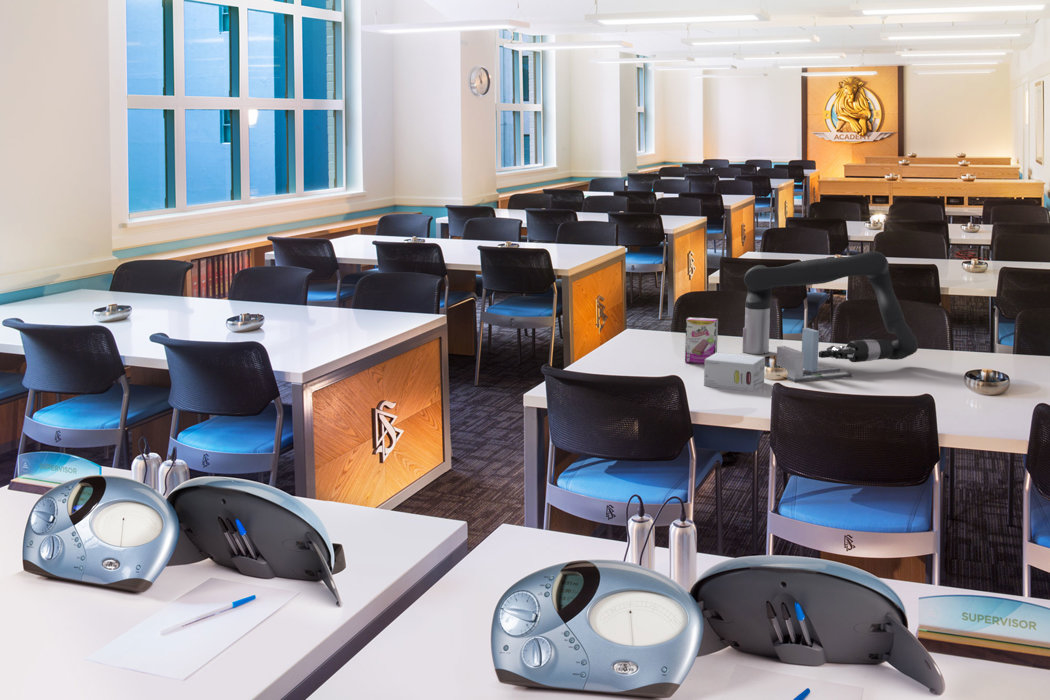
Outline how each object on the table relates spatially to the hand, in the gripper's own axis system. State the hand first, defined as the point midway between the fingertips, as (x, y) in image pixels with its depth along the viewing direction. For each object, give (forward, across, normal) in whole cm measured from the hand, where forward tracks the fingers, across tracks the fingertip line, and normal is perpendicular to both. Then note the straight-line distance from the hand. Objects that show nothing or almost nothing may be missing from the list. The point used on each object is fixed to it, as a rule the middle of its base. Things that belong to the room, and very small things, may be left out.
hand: (819, 354), depth 351 cm
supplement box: (+34, +3, +7) cm, 35 cm away
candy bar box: (+29, -32, +7) cm, 44 cm away
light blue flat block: (+4, +2, +5) cm, 7 cm away
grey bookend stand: (+3, +1, +7) cm, 8 cm away
